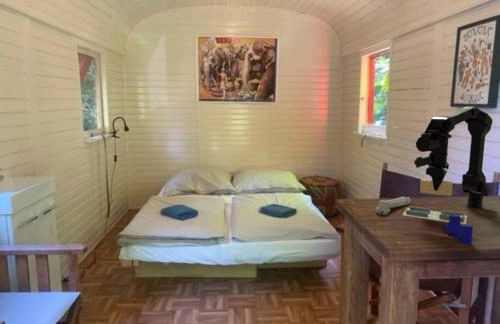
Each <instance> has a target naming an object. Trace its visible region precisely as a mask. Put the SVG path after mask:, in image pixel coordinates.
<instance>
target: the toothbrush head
mask: <svg viewBox="0 0 500 324" xmlns="http://www.w3.org/2000/svg"><path fill="white" fill-rule="evenodd" d="M410 204H412V199H411V198H410V197H409V196H400V197H397V198H393V199H389V200H382V199H381V200H379V201H378V204H377V205H378V206H376V207H375V210H376V214H378V215H389V214H390V212H391V209H393V208H399V207H404V206H407V205H408V206H409V205H410Z"/></svg>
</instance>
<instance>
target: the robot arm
mask: <svg viewBox="0 0 500 324" xmlns="http://www.w3.org/2000/svg"><path fill="white" fill-rule="evenodd" d="M463 122H465V123H466V125H467V130H468V133H469V134H470V146H469V147H470V149H469V160H468V168H467V171H466V172H465V173H463V174H462V175H461V176H462V181H461V187H462V193H465V194H467V201H466V204H465V207H466V208H472V209H473V208H474V209H481V210H484V208H485V207H484V205H483V204H484V197H488V196H489V195H490V192H491V188H489V186H488V184H487V178H486V175H485V174H484V172H483V165H484V164H483V163H484V155H485V154H484V152H485V143H486V142H485V141H486V136H487V135H488V133H490V131H491V128H492V125H493V118H492V117H491V116H490V115H489V114H488V113H487V112H485V111H482V110H480V108H478V107H477V106H465V107H462V108H461V109H459V110H457V111H454V112H452V113H450V114H448V115H441V116H440V115H438V116H434V117H432V118H431V119H430V121H429V123H428V125H427V127H426V129H425V130H424V132H423V133H421V135H420V137H418V138H417V140H416V142H415V147H416V149H417V150H418V151H419V152H421V153H427V152H430V153H428V155H427V156H417V157H416V158H415V159H414V160H413V162H414V165H415V168H417V169H419V168H420V167H424V166H427V167H426V169H425V175H427V176H429V177H431V180H432V181H433V187H434V191H437V190H438V188H439V186H440V184H441V182H442V181H444V179H445V177H446V175H447V173H448V171H447V170H449V169H450V164H449V162H448V155H449V152H448V149H449V139H452V138H453V137H452V134H450V132H452V131H453V130H454V129H455V128H456V126H457V125H458V124H460V123H463Z"/></svg>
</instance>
